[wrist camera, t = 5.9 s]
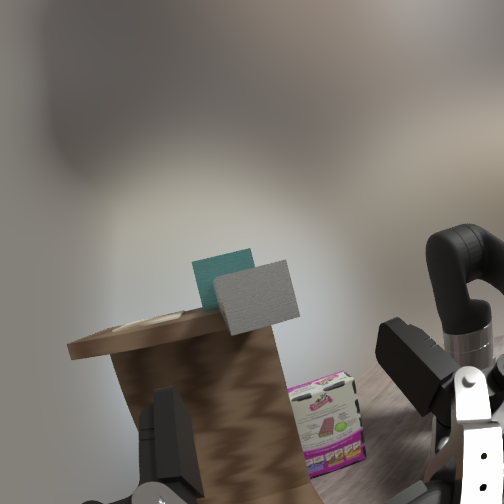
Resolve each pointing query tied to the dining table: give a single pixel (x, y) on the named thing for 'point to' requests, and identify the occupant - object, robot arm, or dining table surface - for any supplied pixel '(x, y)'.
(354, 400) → the candy bar box
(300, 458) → the bracket shelf
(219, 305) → the grey and teal bar
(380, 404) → the dining table surface
